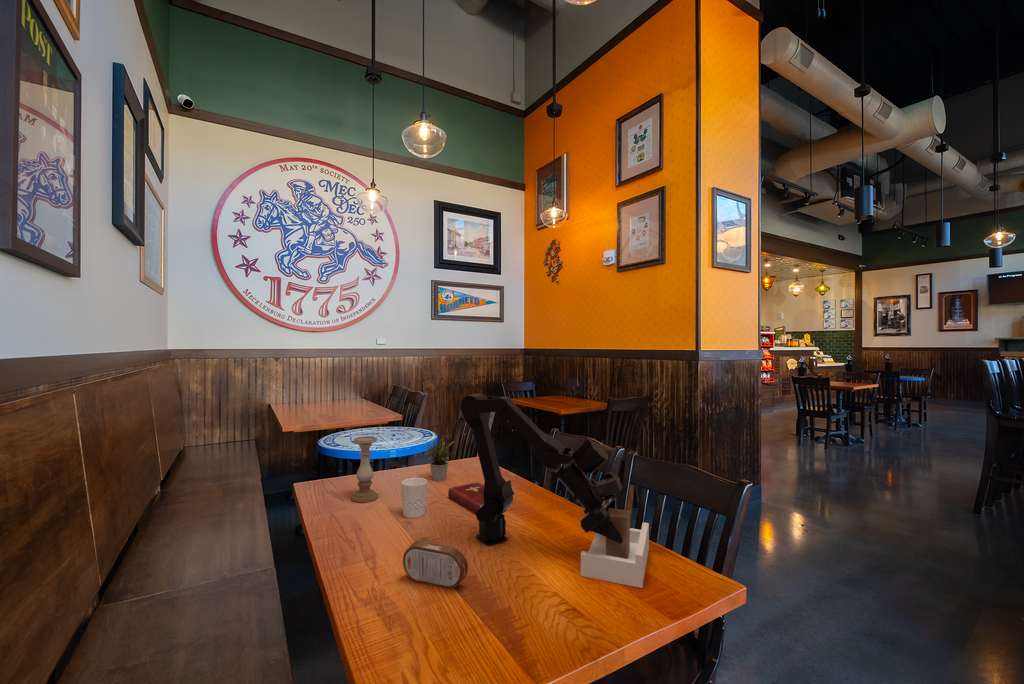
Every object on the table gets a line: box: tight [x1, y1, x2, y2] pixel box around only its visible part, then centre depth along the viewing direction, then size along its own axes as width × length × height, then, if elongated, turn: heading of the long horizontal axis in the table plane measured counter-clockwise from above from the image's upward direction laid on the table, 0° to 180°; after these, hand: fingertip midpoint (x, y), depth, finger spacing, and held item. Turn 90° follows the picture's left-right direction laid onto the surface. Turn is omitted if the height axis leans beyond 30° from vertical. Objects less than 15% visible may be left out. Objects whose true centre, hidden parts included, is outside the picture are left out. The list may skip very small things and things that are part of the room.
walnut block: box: [606, 508, 631, 559], centre depth 107 cm, size 5×5×10 cm
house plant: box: [421, 439, 456, 482], centre depth 171 cm, size 14×14×16 cm
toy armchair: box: [580, 522, 650, 589], centre depth 107 cm, size 14×19×7 cm
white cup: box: [400, 477, 428, 519], centre depth 136 cm, size 8×8×10 cm
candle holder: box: [350, 435, 379, 504], centre depth 149 cm, size 9×9×20 cm
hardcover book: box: [447, 481, 512, 516], centre depth 145 cm, size 12×21×4 cm, turn 35°
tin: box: [402, 540, 469, 589], centre depth 97 cm, size 15×3×8 cm, turn 71°
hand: (623, 536), depth 106 cm, fingers open, 7 cm apart
